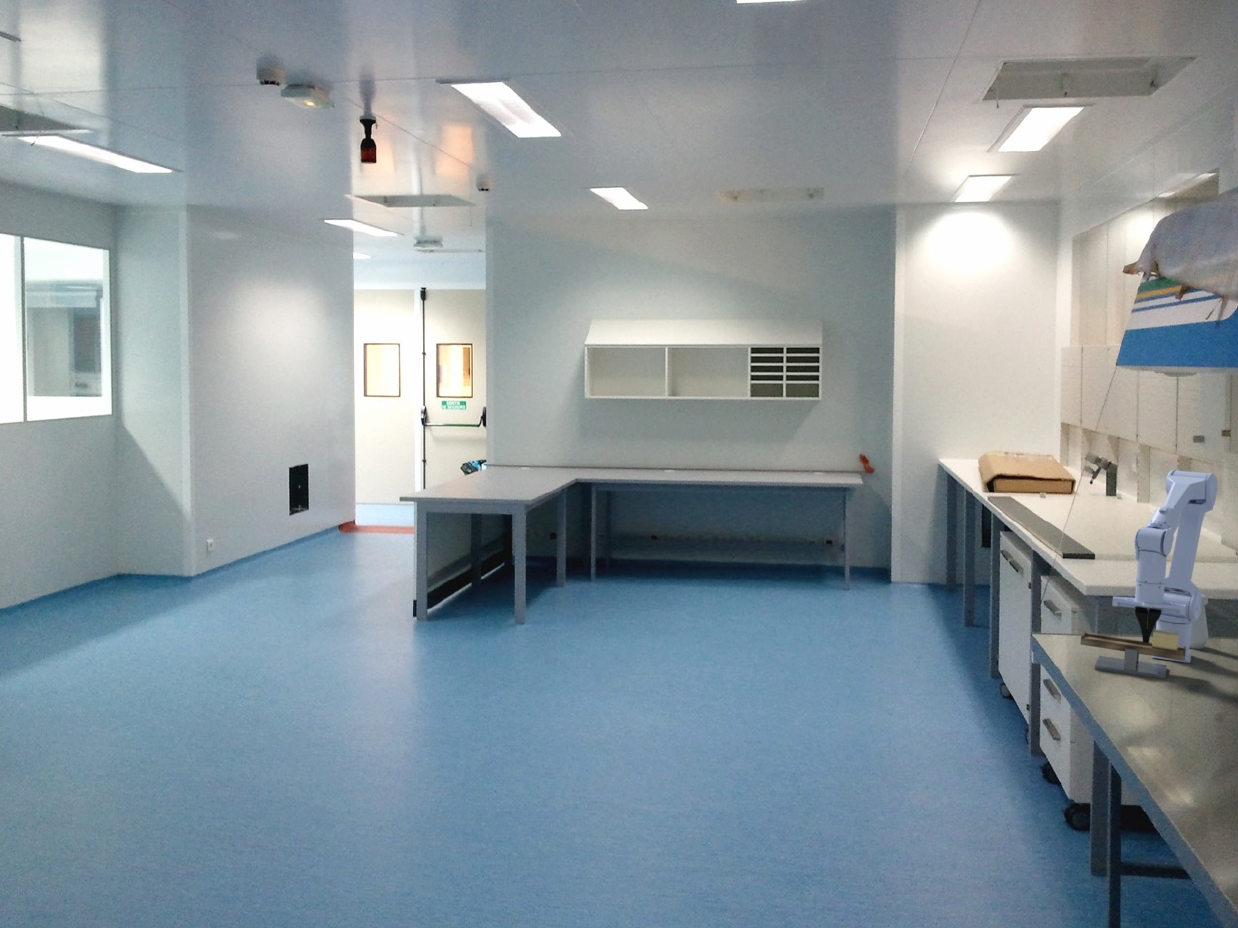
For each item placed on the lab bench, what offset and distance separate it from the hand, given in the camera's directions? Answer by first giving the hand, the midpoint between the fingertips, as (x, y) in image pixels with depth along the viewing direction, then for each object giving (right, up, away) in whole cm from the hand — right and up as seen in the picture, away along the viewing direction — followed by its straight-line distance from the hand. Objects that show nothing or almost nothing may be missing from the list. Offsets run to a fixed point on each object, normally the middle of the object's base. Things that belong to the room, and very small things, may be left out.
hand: (1146, 641), depth 240 cm
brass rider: (+3, -2, -2) cm, 4 cm away
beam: (-2, -2, +1) cm, 4 cm away
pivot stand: (-2, -6, +2) cm, 7 cm away
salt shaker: (+24, -5, +24) cm, 34 cm away
